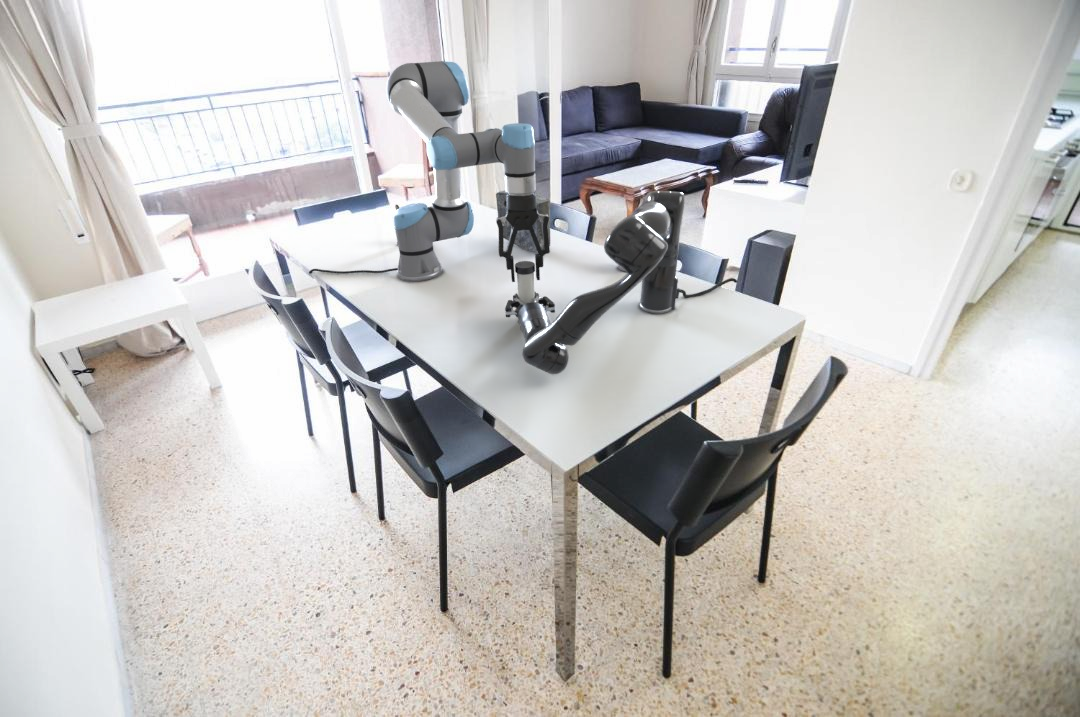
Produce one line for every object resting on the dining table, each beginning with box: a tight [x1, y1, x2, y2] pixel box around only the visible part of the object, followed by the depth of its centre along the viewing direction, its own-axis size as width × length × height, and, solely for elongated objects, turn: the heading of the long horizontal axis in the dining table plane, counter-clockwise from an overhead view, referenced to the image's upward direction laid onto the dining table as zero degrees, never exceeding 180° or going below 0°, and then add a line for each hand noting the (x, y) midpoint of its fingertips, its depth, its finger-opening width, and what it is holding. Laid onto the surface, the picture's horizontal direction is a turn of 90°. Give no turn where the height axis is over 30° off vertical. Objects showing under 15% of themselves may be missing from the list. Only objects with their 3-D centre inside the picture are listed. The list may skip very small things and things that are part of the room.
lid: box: [514, 260, 536, 275], centre depth 134 cm, size 5×5×2 cm
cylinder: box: [516, 272, 535, 303], centre depth 138 cm, size 4×4×17 cm
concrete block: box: [495, 189, 551, 252], centre depth 191 cm, size 27×9×20 cm, turn 36°
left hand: (525, 279), depth 136 cm, fingers open, 6 cm apart
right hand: (525, 295), depth 141 cm, fingers closed on cylinder, 4 cm apart
